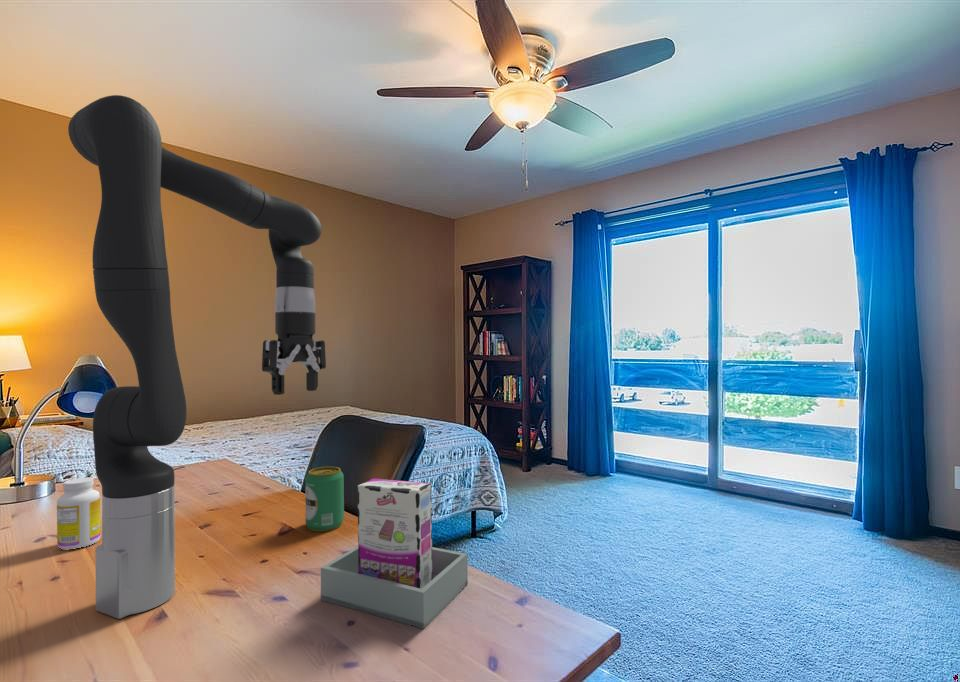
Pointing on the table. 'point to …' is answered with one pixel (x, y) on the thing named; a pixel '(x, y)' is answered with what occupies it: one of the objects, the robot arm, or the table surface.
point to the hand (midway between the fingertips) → (296, 392)
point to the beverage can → (324, 498)
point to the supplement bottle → (78, 514)
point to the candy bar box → (395, 531)
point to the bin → (395, 588)
